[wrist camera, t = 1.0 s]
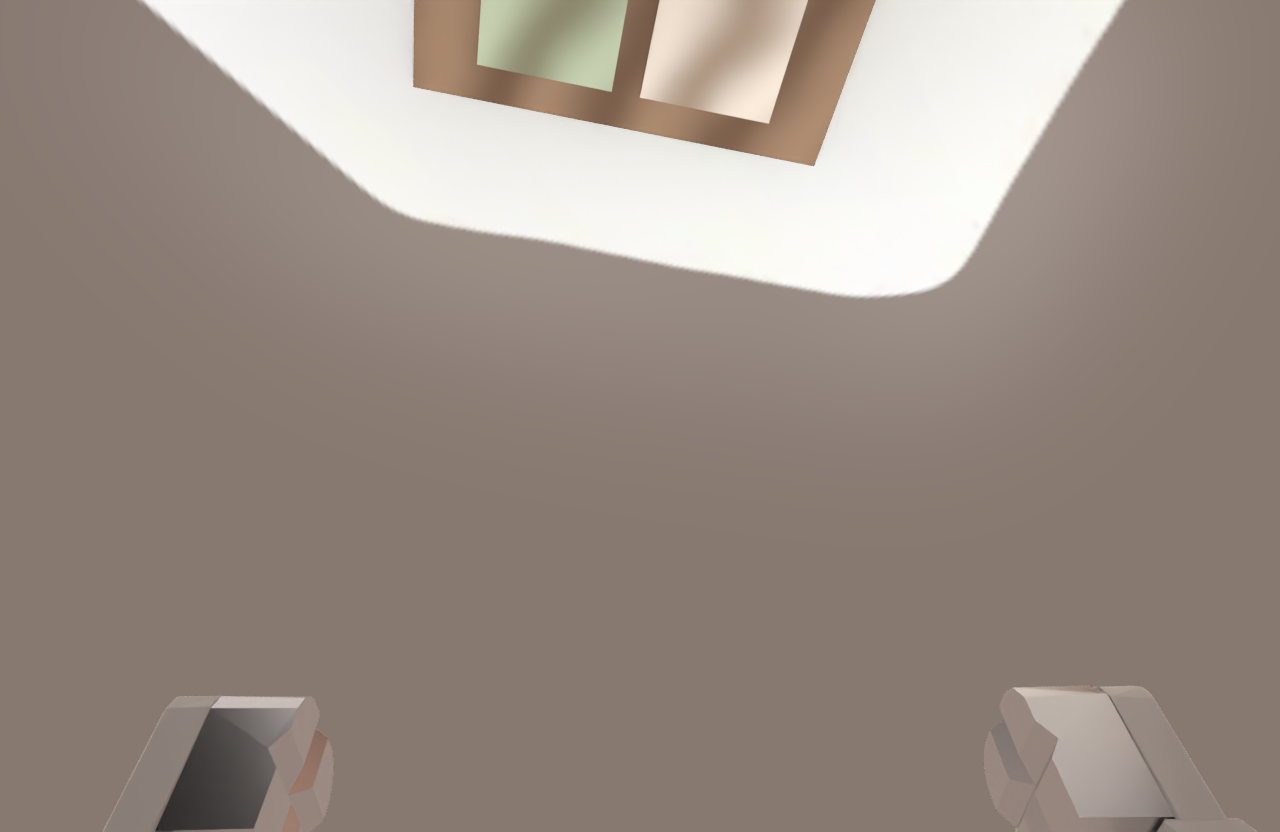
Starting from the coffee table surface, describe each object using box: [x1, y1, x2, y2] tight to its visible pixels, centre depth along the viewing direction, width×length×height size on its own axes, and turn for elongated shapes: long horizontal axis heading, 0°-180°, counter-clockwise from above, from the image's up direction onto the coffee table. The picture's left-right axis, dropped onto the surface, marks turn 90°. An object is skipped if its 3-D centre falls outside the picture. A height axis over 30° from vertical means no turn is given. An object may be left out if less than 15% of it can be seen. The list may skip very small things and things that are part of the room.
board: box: [413, 0, 875, 166], centre depth 43 cm, size 22×11×1 cm, turn 79°
